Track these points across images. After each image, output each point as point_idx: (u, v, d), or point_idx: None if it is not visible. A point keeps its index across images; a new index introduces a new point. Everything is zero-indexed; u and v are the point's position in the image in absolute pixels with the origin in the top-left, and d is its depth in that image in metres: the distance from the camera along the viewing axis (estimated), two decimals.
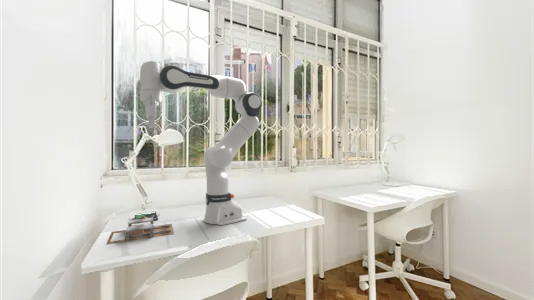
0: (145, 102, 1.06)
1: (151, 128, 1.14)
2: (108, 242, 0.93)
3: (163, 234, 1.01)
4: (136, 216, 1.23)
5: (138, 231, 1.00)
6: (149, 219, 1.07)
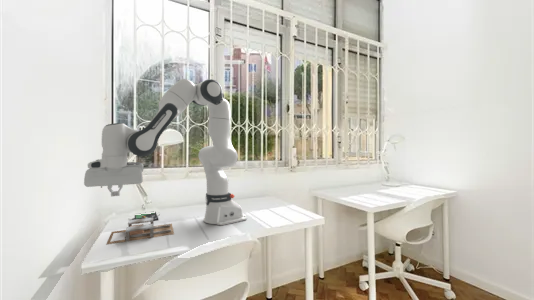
0: (120, 169, 0.96)
1: None
2: (108, 242, 0.93)
3: (163, 234, 1.01)
4: (136, 216, 1.23)
5: (138, 231, 1.00)
6: (149, 219, 1.07)
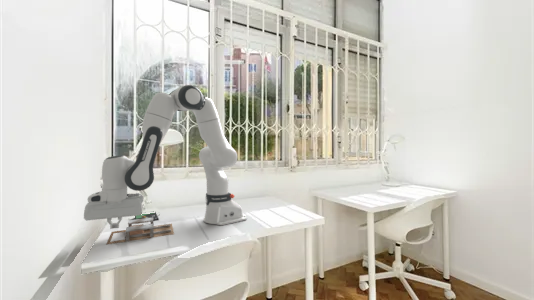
0: (119, 201, 0.96)
1: None
2: (108, 242, 0.93)
3: (163, 234, 1.01)
4: (136, 216, 1.23)
5: (138, 231, 1.00)
6: (149, 219, 1.07)
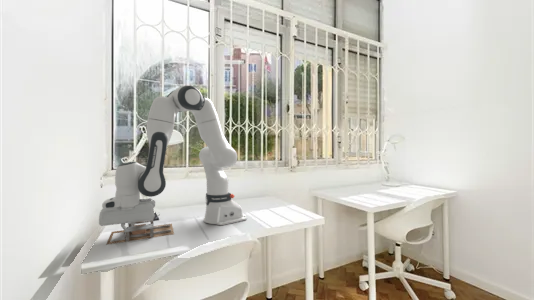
0: (133, 207, 0.99)
1: (125, 232, 1.00)
2: (108, 242, 0.93)
3: (163, 234, 1.01)
4: None
5: (141, 231, 1.00)
6: None
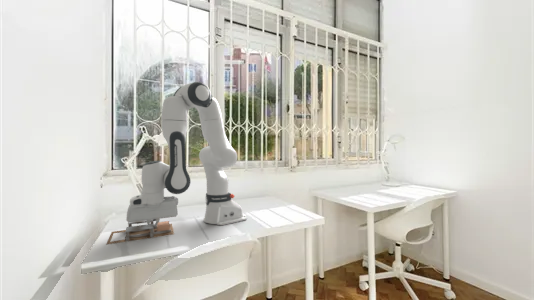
0: (158, 204, 1.03)
1: None
2: (108, 242, 0.93)
3: (163, 234, 1.01)
4: None
5: (165, 227, 1.04)
6: None
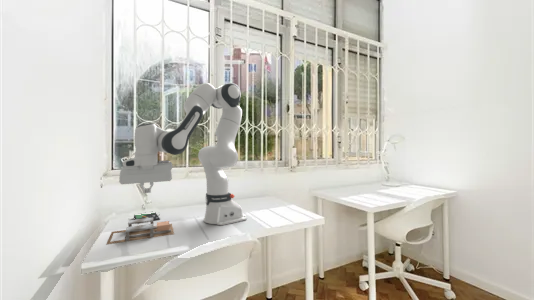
0: (151, 167, 1.01)
1: (144, 192, 1.02)
2: (108, 242, 0.93)
3: (163, 234, 1.01)
4: (136, 216, 1.23)
5: (165, 227, 1.04)
6: (149, 219, 1.07)
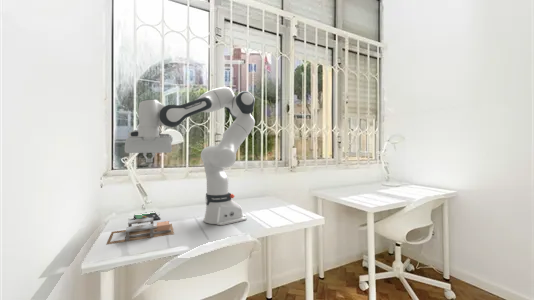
0: (153, 138, 1.12)
1: (146, 162, 1.13)
2: (108, 242, 0.93)
3: (163, 234, 1.01)
4: (136, 216, 1.22)
5: (165, 227, 1.04)
6: (149, 219, 1.07)
